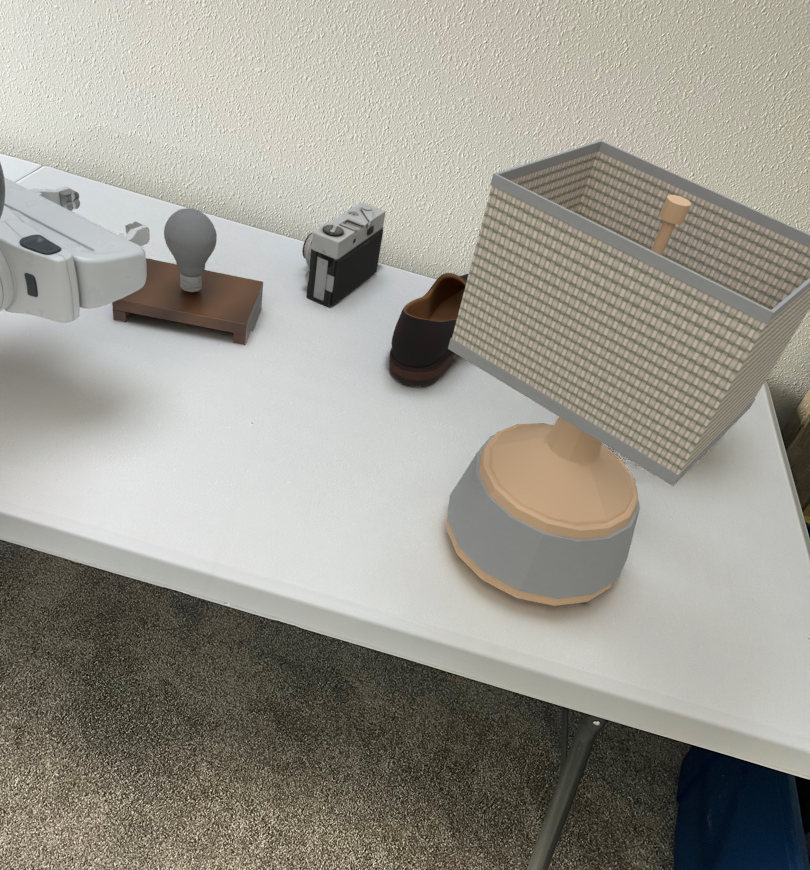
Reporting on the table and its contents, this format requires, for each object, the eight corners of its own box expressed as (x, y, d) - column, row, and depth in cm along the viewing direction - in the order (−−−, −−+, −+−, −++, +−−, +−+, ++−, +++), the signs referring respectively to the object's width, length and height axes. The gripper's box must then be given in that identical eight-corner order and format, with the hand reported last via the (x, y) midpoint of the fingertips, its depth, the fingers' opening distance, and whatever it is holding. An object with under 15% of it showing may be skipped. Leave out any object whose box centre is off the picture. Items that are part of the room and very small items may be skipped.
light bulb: (200, 307, 95) (200, 228, 88) (156, 292, 95) (152, 211, 88) (224, 287, 99) (226, 210, 92) (181, 272, 100) (180, 194, 93)
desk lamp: (393, 531, 80) (484, 163, 54) (496, 457, 92) (612, 125, 66) (568, 661, 72) (773, 306, 46) (657, 562, 84) (859, 234, 58)
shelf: (114, 327, 95) (111, 298, 93) (140, 285, 103) (139, 256, 100) (244, 352, 97) (246, 324, 94) (261, 308, 105) (263, 281, 102)
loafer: (510, 316, 116) (529, 253, 109) (435, 405, 97) (453, 336, 90) (452, 292, 118) (468, 229, 111) (367, 375, 98) (380, 305, 91)
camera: (331, 254, 119) (339, 188, 112) (378, 273, 117) (389, 208, 110) (281, 287, 109) (286, 217, 102) (332, 309, 108) (341, 240, 101)
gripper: (-78, 244, 76) (38, 206, 85) (80, 331, 71) (185, 281, 80) (-95, 178, 71) (30, 145, 80) (73, 267, 66) (185, 221, 76)
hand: (108, 213), depth 80 cm, fingers open, 8 cm apart
